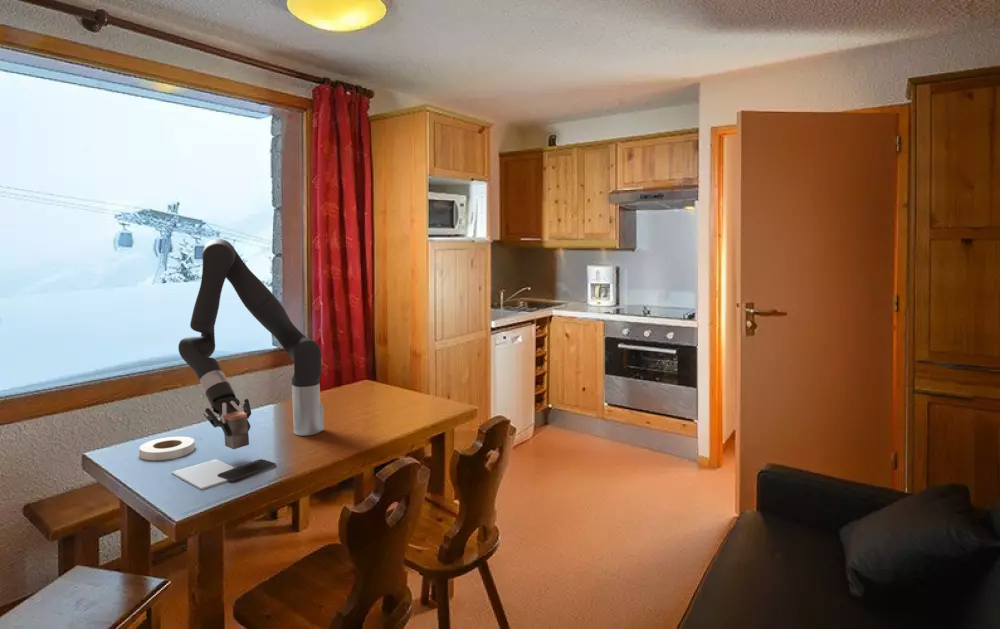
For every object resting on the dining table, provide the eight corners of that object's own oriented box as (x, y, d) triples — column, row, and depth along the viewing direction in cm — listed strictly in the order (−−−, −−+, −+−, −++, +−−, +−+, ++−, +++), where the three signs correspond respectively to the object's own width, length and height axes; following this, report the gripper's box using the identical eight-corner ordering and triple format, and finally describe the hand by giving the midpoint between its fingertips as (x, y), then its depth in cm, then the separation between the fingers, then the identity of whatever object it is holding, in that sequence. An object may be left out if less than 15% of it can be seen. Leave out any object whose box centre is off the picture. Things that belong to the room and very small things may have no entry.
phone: (215, 474, 171) (260, 458, 184) (215, 478, 172) (261, 462, 184) (232, 480, 167) (278, 463, 180) (233, 484, 168) (278, 467, 180)
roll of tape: (177, 441, 203) (176, 432, 202) (205, 449, 195) (204, 441, 194) (129, 455, 189) (128, 446, 189) (157, 465, 182) (156, 455, 181)
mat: (216, 460, 184) (216, 458, 184) (246, 475, 173) (246, 473, 173) (171, 473, 174) (171, 471, 174) (201, 489, 163) (201, 488, 163)
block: (240, 441, 189) (238, 410, 187) (249, 444, 186) (246, 413, 184) (225, 445, 185) (222, 414, 183) (233, 449, 182) (230, 417, 180)
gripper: (197, 386, 182) (219, 432, 176) (242, 376, 193) (265, 420, 187) (190, 400, 186) (212, 446, 180) (235, 390, 197) (257, 433, 191)
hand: (239, 432), depth 183 cm, fingers closed on block, 5 cm apart
